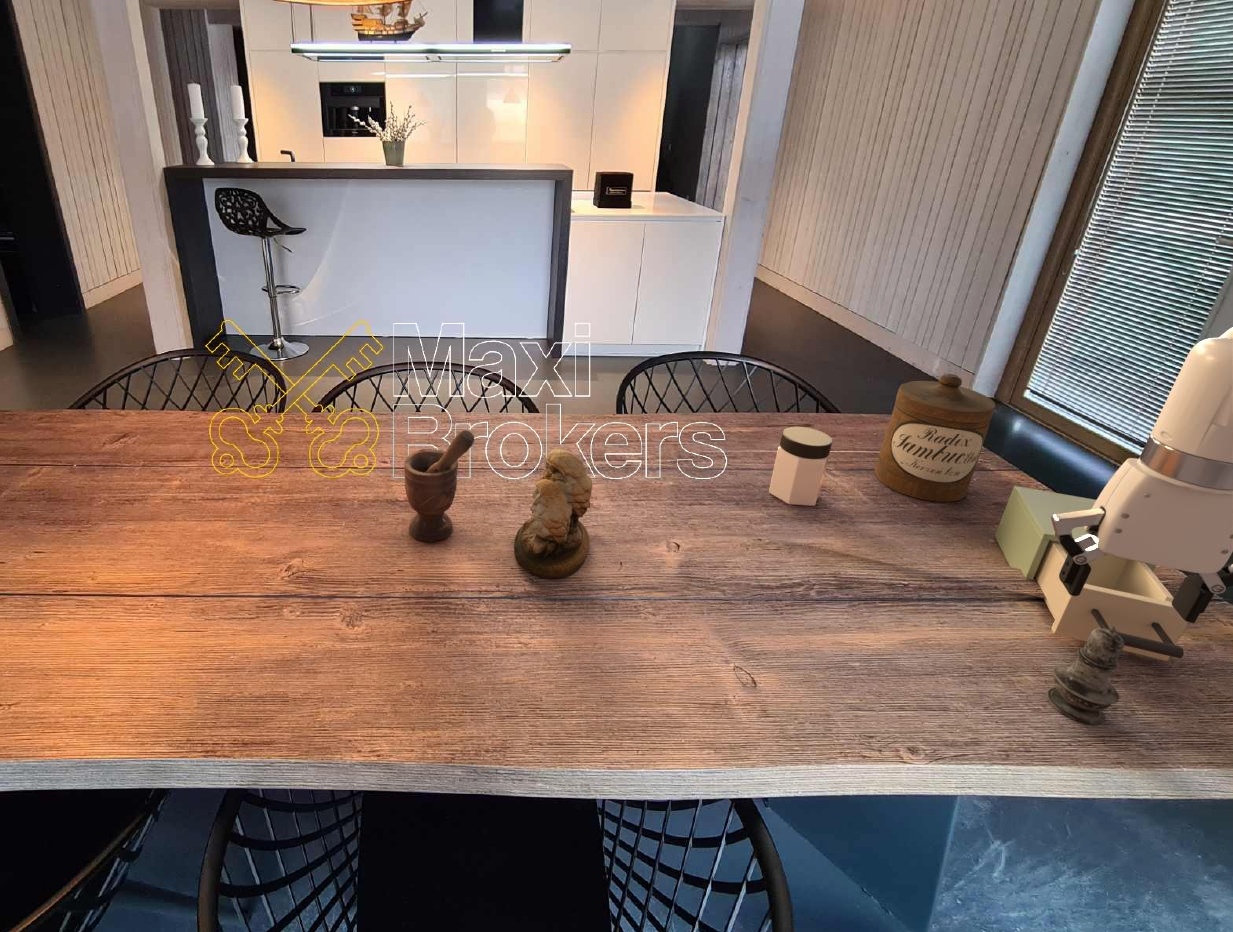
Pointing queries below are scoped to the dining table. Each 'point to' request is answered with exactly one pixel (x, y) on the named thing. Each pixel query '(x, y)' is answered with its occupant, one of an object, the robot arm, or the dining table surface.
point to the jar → (800, 465)
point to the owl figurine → (556, 519)
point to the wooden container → (934, 439)
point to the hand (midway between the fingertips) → (1124, 600)
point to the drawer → (1113, 604)
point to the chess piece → (1088, 679)
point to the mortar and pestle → (434, 487)
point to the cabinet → (1035, 526)
